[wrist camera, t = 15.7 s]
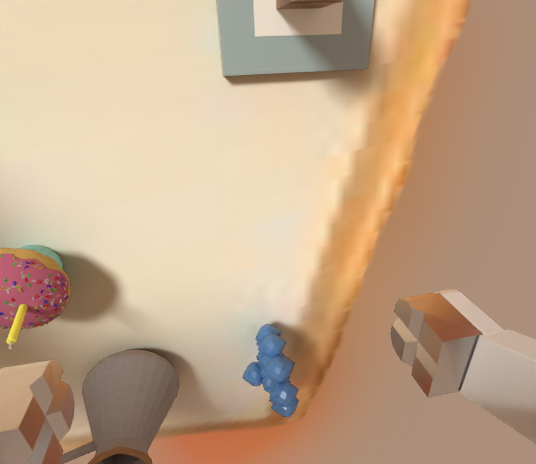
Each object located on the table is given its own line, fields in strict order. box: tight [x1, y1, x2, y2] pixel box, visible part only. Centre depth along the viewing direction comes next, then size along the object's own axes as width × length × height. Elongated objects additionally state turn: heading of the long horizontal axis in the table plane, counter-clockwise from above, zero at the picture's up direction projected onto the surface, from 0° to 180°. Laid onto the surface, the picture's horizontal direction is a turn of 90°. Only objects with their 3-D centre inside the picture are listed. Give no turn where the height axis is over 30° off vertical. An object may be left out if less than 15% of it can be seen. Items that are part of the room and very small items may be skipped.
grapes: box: [242, 324, 299, 417], centre depth 43 cm, size 12×7×12 cm, turn 8°
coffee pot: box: [59, 349, 179, 464], centre depth 38 cm, size 21×12×15 cm, turn 81°
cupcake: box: [0, 245, 71, 350], centre depth 31 cm, size 9×8×12 cm
